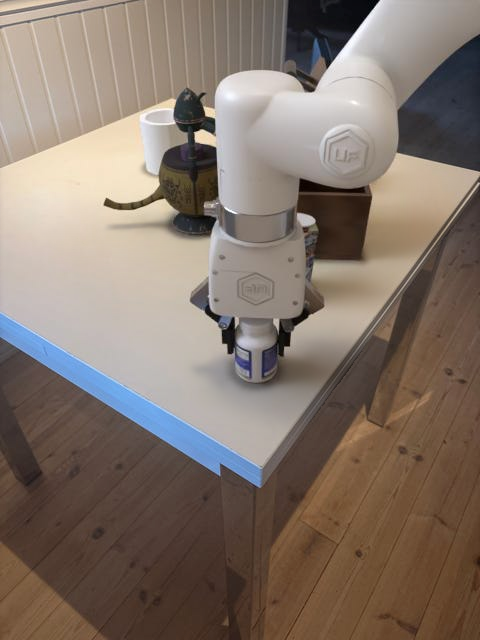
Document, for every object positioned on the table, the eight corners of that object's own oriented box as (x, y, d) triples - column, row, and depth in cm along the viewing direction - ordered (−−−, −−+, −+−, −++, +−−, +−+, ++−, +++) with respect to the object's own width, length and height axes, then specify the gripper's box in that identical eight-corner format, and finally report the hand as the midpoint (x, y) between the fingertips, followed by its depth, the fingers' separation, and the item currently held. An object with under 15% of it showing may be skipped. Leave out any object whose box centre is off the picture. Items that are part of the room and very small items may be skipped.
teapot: (249, 237, 85) (250, 97, 70) (104, 245, 84) (72, 104, 68) (242, 204, 94) (241, 74, 79) (112, 211, 93) (85, 79, 77)
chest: (352, 217, 90) (362, 157, 82) (360, 260, 79) (372, 196, 72) (266, 215, 91) (268, 156, 83) (264, 257, 80) (265, 193, 73)
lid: (324, 58, 73) (293, 39, 71) (330, 86, 62) (294, 64, 61) (270, 154, 83) (242, 139, 82) (268, 191, 73) (235, 175, 71)
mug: (153, 150, 114) (147, 103, 107) (196, 150, 114) (193, 103, 107) (142, 175, 104) (134, 125, 97) (189, 176, 104) (185, 125, 97)
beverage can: (265, 302, 72) (267, 231, 64) (274, 273, 77) (277, 204, 69) (307, 308, 70) (315, 236, 62) (314, 278, 76) (322, 209, 68)
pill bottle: (274, 352, 64) (276, 299, 58) (279, 382, 60) (282, 329, 54) (233, 354, 63) (232, 302, 58) (236, 385, 60) (234, 332, 54)
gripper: (163, 231, 45) (181, 366, 57) (351, 237, 44) (329, 373, 56) (177, 194, 51) (191, 324, 63) (344, 198, 49) (325, 329, 61)
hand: (256, 346), depth 59 cm, fingers closed on pill bottle, 5 cm apart
